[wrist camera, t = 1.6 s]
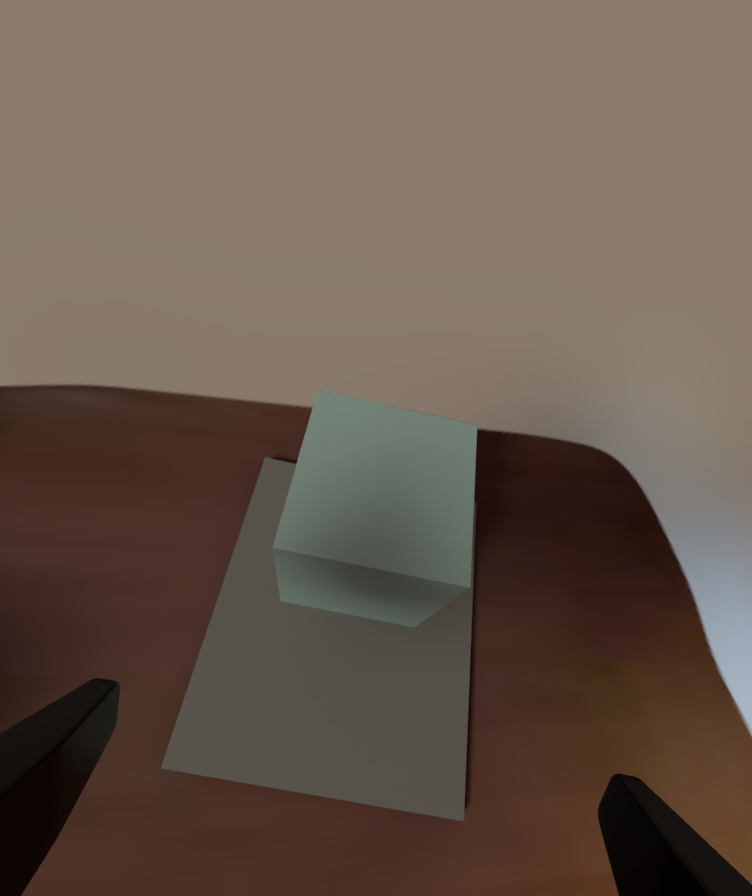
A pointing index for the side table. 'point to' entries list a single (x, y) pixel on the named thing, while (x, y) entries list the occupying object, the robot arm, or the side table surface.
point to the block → (378, 512)
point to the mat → (325, 688)
